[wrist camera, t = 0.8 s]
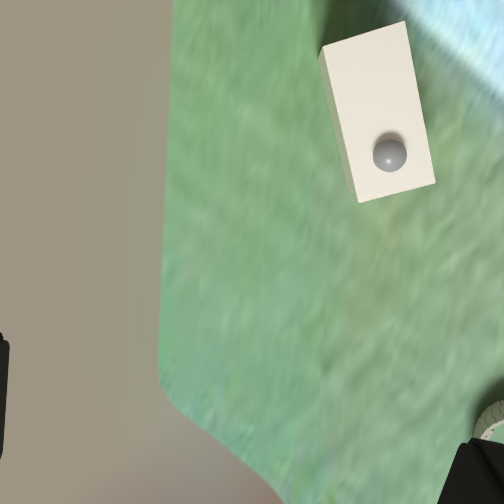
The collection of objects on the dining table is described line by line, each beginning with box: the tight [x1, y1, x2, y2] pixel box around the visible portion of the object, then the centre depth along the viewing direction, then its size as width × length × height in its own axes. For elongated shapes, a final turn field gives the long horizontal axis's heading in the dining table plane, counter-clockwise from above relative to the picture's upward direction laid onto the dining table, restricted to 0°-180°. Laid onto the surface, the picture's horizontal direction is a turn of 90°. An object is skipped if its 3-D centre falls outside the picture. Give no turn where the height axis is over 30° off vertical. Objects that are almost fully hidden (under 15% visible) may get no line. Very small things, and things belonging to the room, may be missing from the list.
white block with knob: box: [318, 21, 435, 203], centre depth 26 cm, size 4×8×6 cm, turn 16°
